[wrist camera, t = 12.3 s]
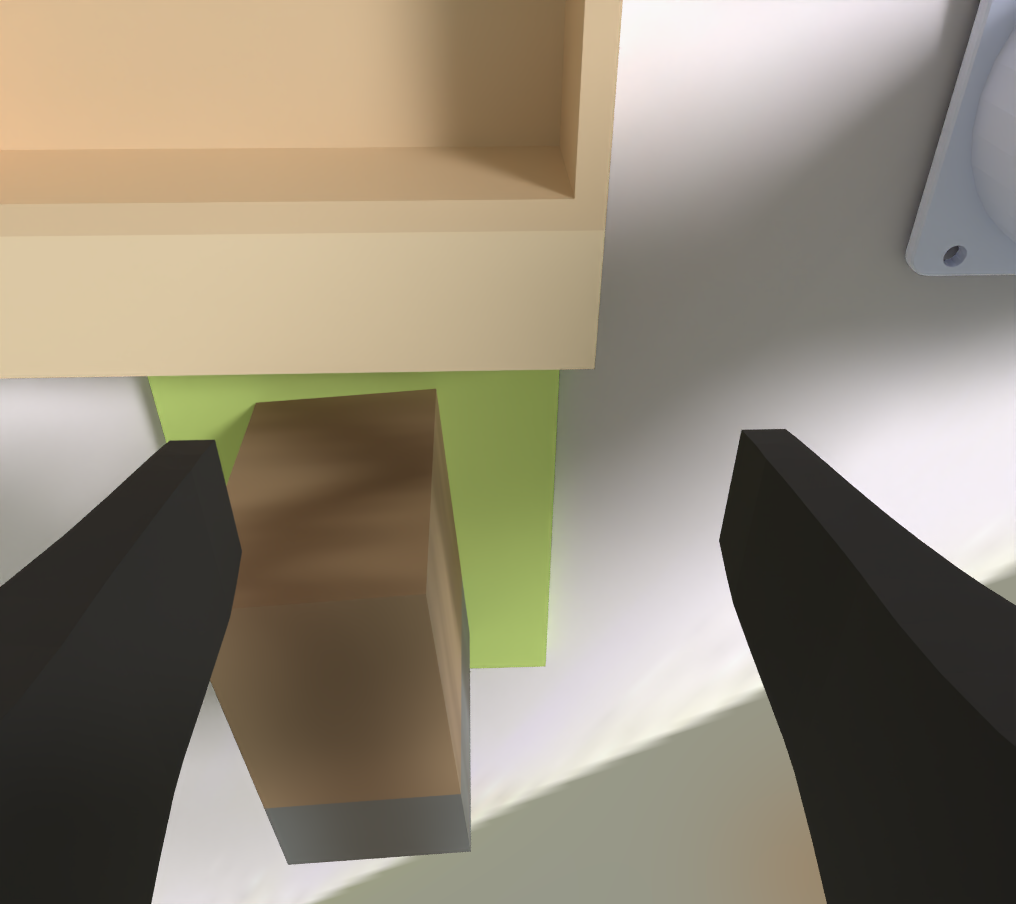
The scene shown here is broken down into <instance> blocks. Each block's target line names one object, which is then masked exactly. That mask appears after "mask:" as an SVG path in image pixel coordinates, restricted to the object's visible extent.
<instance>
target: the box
mask: <svg viewBox="0 0 1016 904" xmlns="http://www.w3.org/2000/svg"><path fill="white" fill-rule="evenodd" d="M226 487H227V491H228V495H229V499H230V503H231V507H232V512H233V516H234V520H235V524H236V528H237V532H238V536H239V540H240V544H241V549H242V555H241V561H240V567H239V573H238V579H237V585H236V590H235V596H234V601H233V606H232V611H231V616H230V619H229V622H228V626H227V629H226V632H225V635H224V638H223V641H222V645H221V648H220V651H219V654H218V657H217V660H216V663H215V666H214V669H213V672H212V675H211V678H210V681H211V684H212V686H213V688H214V691H215V693H216V695H217V698H218V700H219V702H220V705H221V707H222V710H223V712H224V714H225V717H226V719H227V721H228V724H229V726H230V728H231V731H232V733H233V735H234V738H235V740H236V743H237V745H238V747H239V750H240V752H241V754H242V757H243V759H244V761H245V764H246V766H247V769H248V771H249V773H250V776H251V778H252V780H253V783H254V785H255V787H256V790H257V792H258V795H259V797H260V799H261V802H262V804H263V806H264V809H265V811H266V813H267V816H268V818H269V821H270V823H271V825H272V828H273V830H274V832H275V835H276V837H277V839H278V842H279V844H280V847H281V849H282V851H283V854H284V856H285V858H286V861H287V863H288V865H291V864H305V863H319V862H332V861H346V860H360V859H374V858H387V857H401V856H415V855H428V854H442V853H455V852H469V851H471V794H470V632H469V625H468V617H467V610H466V603H465V595H464V588H463V581H462V573H461V566H460V559H459V551H458V544H457V537H456V529H455V522H454V515H453V507H452V500H451V493H450V485H449V478H448V471H447V464H446V456H445V449H444V442H443V434H442V427H441V420H440V412H439V405H438V398H437V390H436V389H427V390H414V391H401V392H388V393H375V394H362V395H349V396H336V397H323V398H310V399H297V400H284V401H271V402H258V403H256V404H255V406H254V409H253V412H252V415H251V418H250V421H249V423H248V426H247V429H246V432H245V435H244V437H243V440H242V443H241V446H240V449H239V452H238V454H237V457H236V460H235V463H234V466H233V468H232V471H231V474H230V477H229V480H228V483H227V485H226Z"/></svg>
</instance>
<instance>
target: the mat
mask: <svg viewBox="0 0 1016 904" xmlns="http://www.w3.org/2000/svg"><path fill="white" fill-rule="evenodd" d="M559 371H560V370H500V371H437V372H375V373H312V374H249V375H186V376H147V377H148V380H149V384H150V387H151V391H152V394H153V398H154V401H155V405H156V408H157V412H158V415H159V419H160V422H161V426H162V429H163V433H164V436H165V440H166V443H167V442H169V441H170V440H215V441H216V446H217V450H218V454H219V458H220V462H221V466H222V470H223V474H224V479H225V483H226V485H227V483H228V480H229V477H230V474H231V471H232V468H233V466H234V463H235V460H236V457H237V454H238V452H239V449H240V446H241V443H242V440H243V437H244V435H245V432H246V429H247V426H248V423H249V421H250V418H251V415H252V412H253V409H254V406H255V404H256V403H258V402H271V401H284V400H297V399H310V398H323V397H336V396H349V395H362V394H375V393H388V392H401V391H414V390H427V389H436V390H437V398H438V405H439V412H440V420H441V427H442V434H443V442H444V449H445V456H446V464H447V471H448V478H449V485H450V493H451V500H452V507H453V515H454V522H455V529H456V537H457V544H458V551H459V559H460V566H461V573H462V581H463V588H464V595H465V603H466V610H467V617H468V625H469V632H470V668H504V667H540V666H545V664H546V643H547V623H548V602H549V581H550V560H551V539H552V518H553V497H554V476H555V455H556V434H557V413H558V392H559Z"/></svg>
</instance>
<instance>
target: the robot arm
mask: <svg viewBox="0 0 1016 904" xmlns="http://www.w3.org/2000/svg"><path fill="white" fill-rule="evenodd" d="M958 245H959V250H958V251H957V253H956V254H955V255H954V256H953V257H952V258H950V259H947V260H943V259H944V255H945V253H946V252H947V251H948V250H949V249H950V248H952V247H954V246H958ZM905 259H906V261H907V264H908V265H909V266H910V267H911V268H912V269H913V270H914V271H915V272H916V273H918V274H919V275H924V276H961V275H1016V0H981V1H980V4H979V8H978V11H977V14H976V18H975V21H974V24H973V28H972V31H971V35H970V38H969V41H968V45H967V48H966V51H965V55H964V58H963V61H962V65H961V68H960V71H959V75H958V78H957V82H956V85H955V88H954V92H953V95H952V98H951V102H950V105H949V108H948V112H947V115H946V119H945V122H944V125H943V129H942V132H941V135H940V139H939V142H938V145H937V149H936V152H935V155H934V159H933V162H932V166H931V169H930V172H929V176H928V179H927V182H926V186H925V189H924V192H923V196H922V199H921V202H920V206H919V209H918V213H917V216H916V219H915V223H914V226H913V229H912V233H911V236H910V239H909V243H908V246H907V249H906V258H905ZM719 542H720V547H721V552H722V556H723V561H724V566H725V571H726V575H727V580H728V584H729V588H730V592H731V596H732V601H733V604H734V607H735V610H736V613H737V616H738V618H739V621H740V624H741V627H742V629H743V632H744V635H745V637H746V640H747V643H748V646H749V648H750V651H751V654H752V656H753V659H754V662H755V664H756V667H757V670H758V672H759V675H760V678H761V680H762V683H763V686H764V688H765V691H766V694H767V696H768V699H769V701H770V704H771V707H772V710H773V712H774V715H775V718H776V720H777V723H778V725H779V728H780V731H781V733H782V736H783V739H784V742H785V745H786V748H787V750H788V754H789V757H790V760H791V763H792V766H793V769H794V772H795V776H796V780H797V784H798V787H799V792H800V795H801V799H802V803H803V807H804V811H805V814H806V818H807V823H808V826H809V830H810V834H811V838H812V842H813V846H814V850H815V855H816V859H817V863H818V867H819V872H820V876H821V880H822V884H823V889H824V893H825V897H826V901H827V904H1016V605H1014V604H1013V603H1011V602H1009V601H1008V600H1006V599H1005V598H1003V597H1001V596H1000V595H998V594H997V593H995V592H993V591H992V590H990V589H988V588H987V587H986V586H984V585H982V584H981V583H979V582H978V581H977V580H975V579H974V578H972V577H971V576H969V575H968V574H966V573H965V572H963V571H962V570H960V569H959V568H957V567H956V566H955V565H953V564H952V563H951V562H949V561H948V560H947V559H945V558H944V557H942V556H941V555H940V554H938V553H937V552H936V551H934V550H933V549H932V548H930V547H929V546H927V545H926V544H925V543H923V542H922V541H921V540H919V539H918V538H917V537H915V536H914V535H913V534H911V533H910V532H909V531H908V530H906V529H905V528H904V527H902V526H901V525H900V524H899V523H897V522H896V521H895V520H894V519H892V518H891V517H890V516H889V515H887V514H886V513H885V512H884V511H882V510H881V509H880V508H879V507H878V506H876V505H875V504H874V503H873V502H871V501H870V500H869V499H868V498H867V497H865V496H864V495H863V494H862V493H861V492H859V491H858V490H857V489H856V488H855V487H854V486H852V485H851V484H850V483H849V482H848V481H847V480H845V479H844V478H843V477H842V476H841V475H840V474H838V473H837V472H836V471H835V470H834V469H833V468H831V467H830V466H829V465H828V464H827V463H826V462H824V461H823V460H822V459H821V458H820V457H819V456H817V455H816V454H815V453H814V452H813V451H812V450H810V449H809V448H808V447H807V446H806V445H805V444H803V443H802V442H801V441H800V440H799V439H797V438H796V437H795V436H794V435H792V434H791V433H790V432H788V431H787V430H786V429H764V430H742V431H741V436H740V441H739V445H738V450H737V455H736V460H735V465H734V470H733V475H732V480H731V485H730V490H729V494H728V499H727V504H726V509H725V514H724V519H723V524H722V529H721V534H720V539H719ZM241 555H242V549H241V544H240V540H239V536H238V532H237V528H236V524H235V520H234V516H233V512H232V507H231V503H230V499H229V495H228V491H227V487H226V483H225V479H224V474H223V470H222V466H221V462H220V458H219V454H218V450H217V446H216V441H215V440H170V441H169V442H167V443H166V444H165V445H164V446H163V447H161V448H160V449H159V450H158V451H157V452H156V453H155V454H153V455H152V456H151V457H150V458H149V459H148V460H147V461H146V462H145V463H144V464H142V465H141V466H140V467H139V468H138V469H137V470H136V471H135V472H134V473H133V474H132V475H130V476H129V477H128V478H127V479H126V480H125V481H124V482H123V483H122V484H121V485H120V486H119V487H117V488H116V489H115V490H114V491H113V492H112V493H111V494H110V495H109V496H108V497H107V498H105V499H104V500H103V501H102V502H101V503H100V504H99V505H98V506H96V507H95V508H94V509H93V510H92V511H91V512H90V513H89V514H87V515H86V516H85V517H84V518H83V519H82V520H81V521H80V522H79V523H77V524H76V525H75V526H74V527H73V528H72V529H71V530H70V531H68V532H67V533H66V534H65V535H64V536H63V537H61V538H60V539H59V540H58V541H56V542H55V543H54V544H53V545H51V546H50V547H49V548H48V549H47V550H45V551H44V552H43V553H42V554H40V555H39V556H38V557H37V558H35V559H34V560H33V561H32V562H31V563H29V564H28V565H27V566H26V567H24V568H23V569H22V570H21V571H19V572H18V573H17V574H16V575H15V576H13V577H12V578H11V579H10V580H8V581H7V582H6V583H5V584H3V585H2V586H1V587H0V904H151V902H152V897H153V892H154V886H155V881H156V876H157V871H158V866H159V861H160V856H161V852H162V847H163V842H164V838H165V833H166V828H167V824H168V819H169V815H170V810H171V805H172V801H173V796H174V792H175V788H176V785H177V781H178V778H179V774H180V770H181V767H182V763H183V760H184V757H185V754H186V751H187V748H188V745H189V742H190V739H191V736H192V733H193V730H194V727H195V724H196V721H197V717H198V714H199V711H200V708H201V705H202V702H203V699H204V696H205V693H206V690H207V687H208V684H209V681H210V678H211V675H212V672H213V669H214V666H215V663H216V660H217V657H218V654H219V651H220V648H221V645H222V641H223V638H224V635H225V632H226V629H227V626H228V622H229V619H230V616H231V611H232V606H233V601H234V596H235V590H236V585H237V579H238V573H239V567H240V561H241Z"/></svg>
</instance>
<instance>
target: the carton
mask: <svg viewBox="0 0 1016 904" xmlns="http://www.w3.org/2000/svg"><path fill="white" fill-rule="evenodd" d="M622 2H623V0H0V378H60V377H123V376H186V375H249V374H312V373H375V372H437V371H500V370H563V369H595V357H596V344H597V331H598V318H599V305H600V292H601V278H602V265H603V252H604V239H605V226H606V212H607V199H608V186H609V173H610V160H611V147H612V133H613V120H614V107H615V94H616V81H617V68H618V54H619V41H620V28H621V15H622Z"/></svg>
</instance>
